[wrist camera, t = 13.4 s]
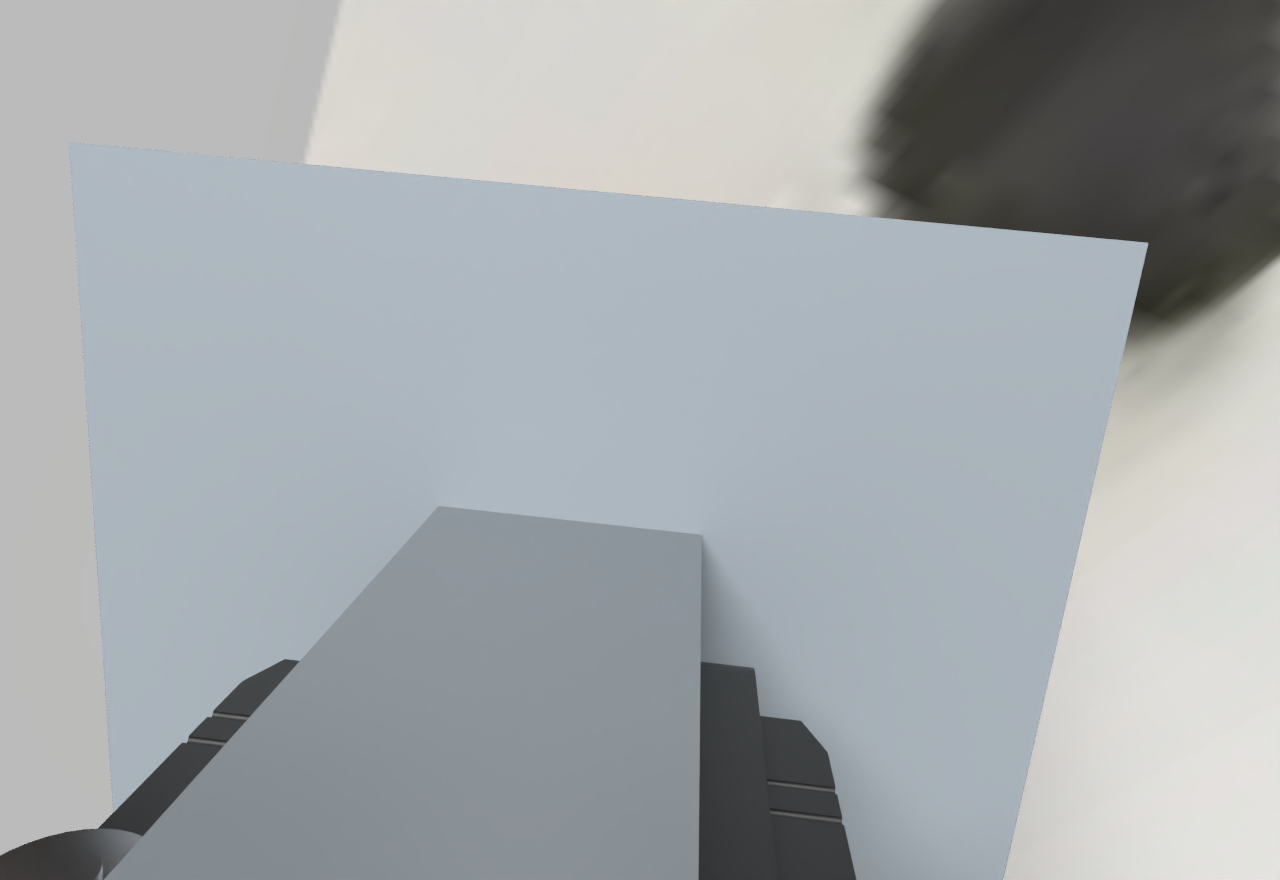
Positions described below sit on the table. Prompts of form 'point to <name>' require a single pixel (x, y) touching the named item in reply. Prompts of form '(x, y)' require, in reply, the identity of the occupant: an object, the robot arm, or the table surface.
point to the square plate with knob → (571, 510)
